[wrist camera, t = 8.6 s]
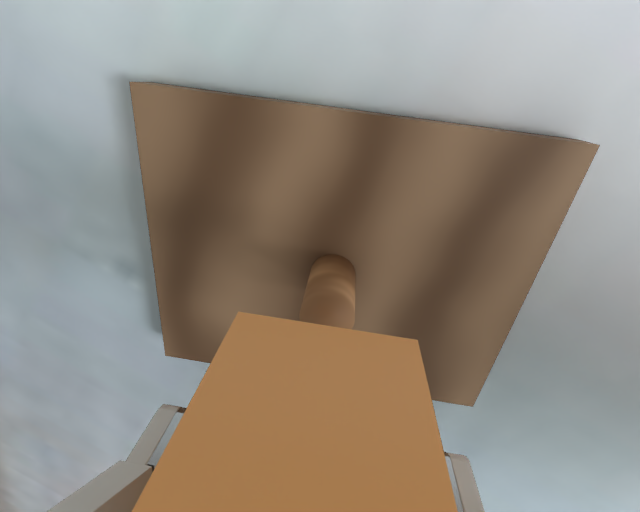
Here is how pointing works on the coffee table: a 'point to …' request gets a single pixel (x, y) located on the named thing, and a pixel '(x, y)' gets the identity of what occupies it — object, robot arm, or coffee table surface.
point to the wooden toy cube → (305, 427)
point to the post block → (347, 223)
